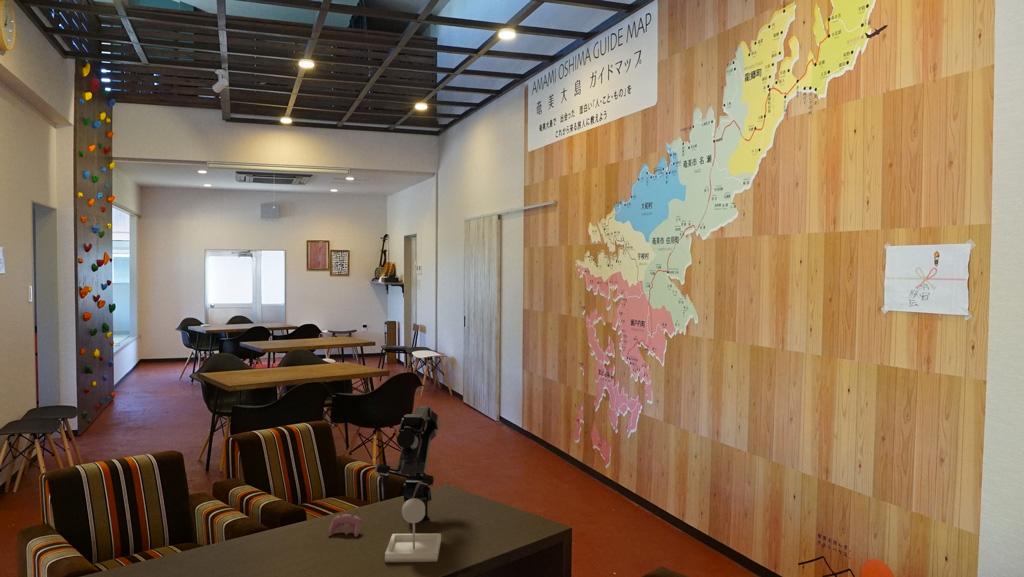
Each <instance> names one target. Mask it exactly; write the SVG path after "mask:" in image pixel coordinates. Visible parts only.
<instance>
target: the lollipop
mask: <svg viewBox="0 0 1024 577" xmlns="http://www.w3.org/2000/svg"><path fill="white" fill-rule="evenodd" d="M425 513H426V508H425V505H424V503H423V502H422V501H421V500H419V499H416V498H412V499H409V500H407V501H406V502H404V503H403V505H402V508H401V515H402V518H403V519H404V520H405V521H406V522H407V523H409V524H412V534H413V549H415V534H416V524H417V523H419V522H421V521H423V520H422V519H423V518H424V516H425Z"/></svg>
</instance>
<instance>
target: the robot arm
mask: <svg viewBox="0 0 1024 577" xmlns="http://www.w3.org/2000/svg"><path fill="white" fill-rule="evenodd" d="M439 429H440V420H439V415H438V414H437V413H435V411H434V410H433V409H432V407H431V406H424V405H423V406H422V405H421V406H417V407H416V410H415V411H414V412H413V413H412V414H411V413H410V414H409V413H407V414H404V415H403V417H402V418H401V421H400V424H399V428H398V434H397V437H396V443H397V445H398V446H399V447H400V448H401V450H400V454H399V458H398V463H397V466H396V469H394V468H391V466H390V465H388V464H384V463H383V464H382V463H379V464H376V465H375V468H374V471H373V473H374V474H377V476H376V477H379V479H380V485H381V495H382V500H385V498H386V494H387V488H388V483H389V482H388V481H389V479H390V476H389V475H391V476H395V477H400V478H404V479H405V483H403V485H402V486H403V487H402V489H403V490H402V492H403V502H404V503H405V502H406V501H407V500H409V499H412V498H416V499H419V500H421V501H422V502H423V503H424V505H425V508H426V513H425V516H424V518H423V519H422V520H421V521H425V520H429V519H430V516H429V515H428V512H429V510H428V509H429V508H428V507H429V505H428V503H429V502H431V501H432V499H433V498H432V496H433V495H432V489H431V486H433V485H434V483H435V482H434V481H435V478H434V475H429V474H427V467H428V462H429V461H428V460H429V454H430V448H431V444H432V443H431V442H432V440H433V439H434V438H436V436H437V432H438V430H439Z"/></svg>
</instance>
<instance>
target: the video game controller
mask: <svg viewBox="0 0 1024 577" xmlns="http://www.w3.org/2000/svg"><path fill="white" fill-rule="evenodd" d="M345 525H348V526H347V528H346V527H345ZM361 526H362V519H361V518H360V517H358V516H357V515H355V514H350V513H348V514H347V513H344V514H338V515H335V517H333V519H332V521H331V523H330V525H329V529H328V536H329V537H332V536H333V534H334V533H335V531H336V530H337V532H338V533H339V534H342V533H345V531H347V533H349V534H353V536H354V537H355V538H357V537H358V536H359V533H360V530H361Z"/></svg>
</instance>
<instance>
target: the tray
mask: <svg viewBox="0 0 1024 577" xmlns="http://www.w3.org/2000/svg"><path fill="white" fill-rule="evenodd" d="M441 544H442V533H441V532H440V533H435V532H434V533H433V532H432V533H415V549H413V533H392V534H391V537H390V540H389V542H388V544H387V548H386V550H385V553H384V563H435V562H436V563H437V562H438V560H439V555H440V554H439V553H440V550H441V549H440V548H441Z"/></svg>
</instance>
